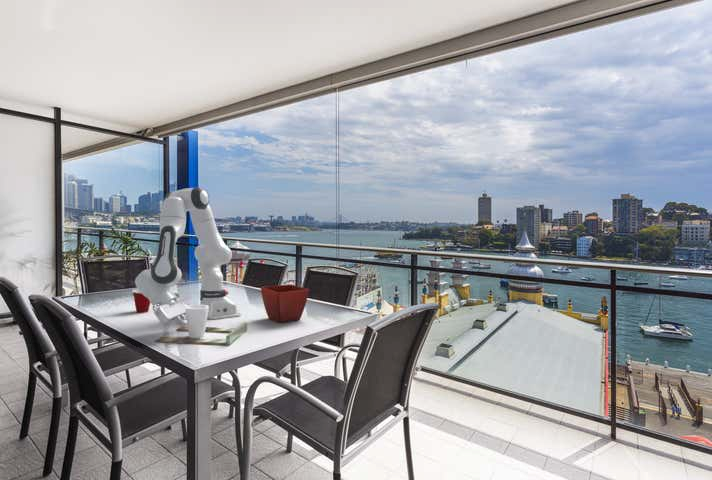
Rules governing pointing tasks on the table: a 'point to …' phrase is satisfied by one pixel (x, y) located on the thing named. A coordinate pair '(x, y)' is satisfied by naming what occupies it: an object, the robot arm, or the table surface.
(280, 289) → the plant pot
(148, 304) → the plastic cup
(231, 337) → the runway box
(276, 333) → the table surface
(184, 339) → the trap pads
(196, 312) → the foam cup
